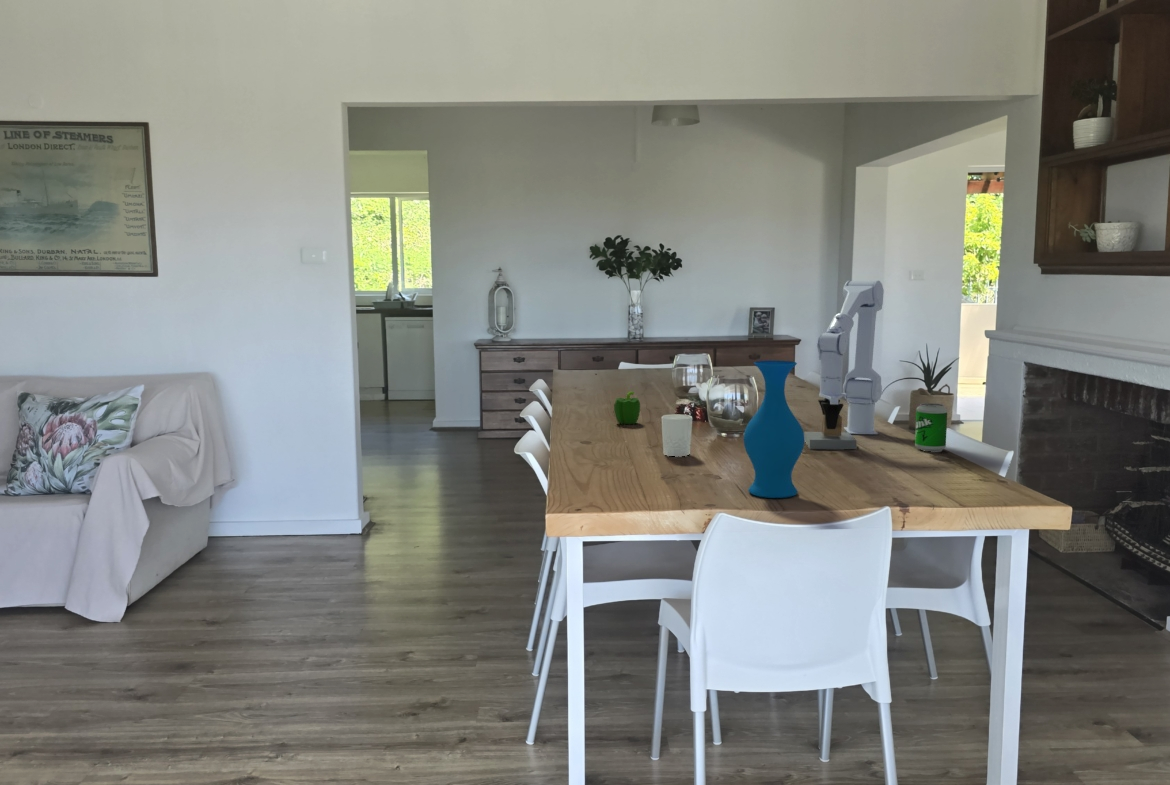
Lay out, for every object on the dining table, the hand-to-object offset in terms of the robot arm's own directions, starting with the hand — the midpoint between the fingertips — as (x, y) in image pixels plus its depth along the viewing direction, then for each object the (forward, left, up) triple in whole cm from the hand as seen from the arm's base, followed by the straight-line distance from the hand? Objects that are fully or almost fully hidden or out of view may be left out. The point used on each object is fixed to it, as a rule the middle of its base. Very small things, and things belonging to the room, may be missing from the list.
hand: (829, 427), depth 236 cm
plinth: (0, 0, -5) cm, 5 cm away
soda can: (+5, +25, -5) cm, 26 cm away
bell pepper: (-31, -57, -5) cm, 65 cm away
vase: (+55, -20, -5) cm, 59 cm away
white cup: (+16, -41, -5) cm, 44 cm away
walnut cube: (0, 0, -2) cm, 2 cm away
